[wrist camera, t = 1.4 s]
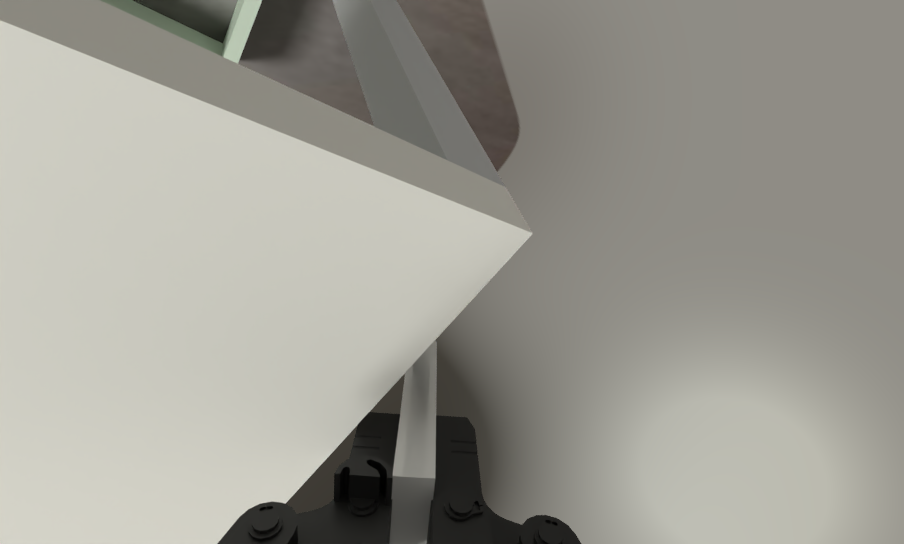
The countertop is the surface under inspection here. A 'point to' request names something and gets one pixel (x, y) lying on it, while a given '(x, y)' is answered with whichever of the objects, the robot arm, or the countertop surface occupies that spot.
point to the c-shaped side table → (214, 265)
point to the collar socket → (228, 49)
